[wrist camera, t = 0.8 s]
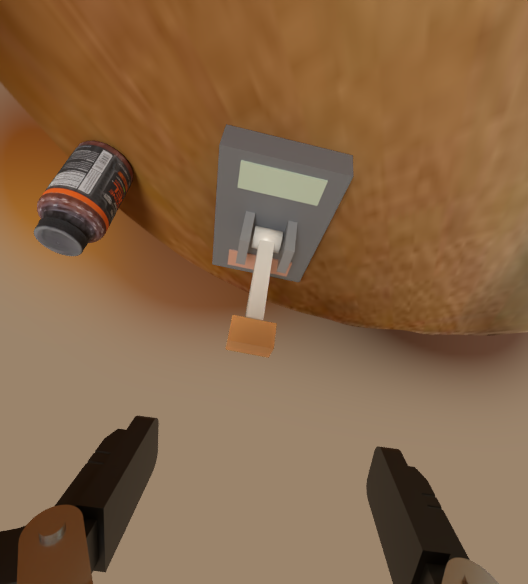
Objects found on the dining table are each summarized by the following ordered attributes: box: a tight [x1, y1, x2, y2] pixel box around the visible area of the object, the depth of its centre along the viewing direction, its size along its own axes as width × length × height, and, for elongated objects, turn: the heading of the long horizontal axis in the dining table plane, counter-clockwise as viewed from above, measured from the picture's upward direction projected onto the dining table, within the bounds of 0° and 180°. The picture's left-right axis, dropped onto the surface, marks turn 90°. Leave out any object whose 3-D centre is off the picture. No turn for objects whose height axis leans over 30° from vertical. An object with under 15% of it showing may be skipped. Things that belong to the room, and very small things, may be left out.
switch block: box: [212, 124, 353, 282], centre depth 35 cm, size 12×18×7 cm, turn 170°
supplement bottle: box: [34, 141, 133, 256], centre depth 31 cm, size 6×6×11 cm
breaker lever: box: [226, 226, 283, 357], centre depth 32 cm, size 4×2×14 cm, turn 80°
